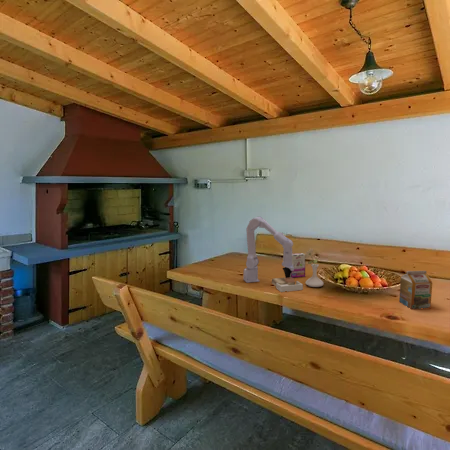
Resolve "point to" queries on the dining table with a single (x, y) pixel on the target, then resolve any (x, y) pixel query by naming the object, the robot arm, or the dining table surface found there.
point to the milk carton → (416, 290)
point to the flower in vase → (314, 280)
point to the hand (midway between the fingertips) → (287, 278)
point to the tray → (290, 287)
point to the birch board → (281, 281)
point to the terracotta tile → (289, 279)
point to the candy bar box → (298, 265)
